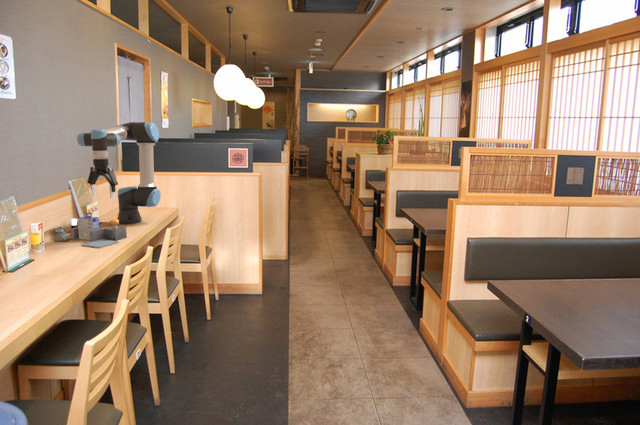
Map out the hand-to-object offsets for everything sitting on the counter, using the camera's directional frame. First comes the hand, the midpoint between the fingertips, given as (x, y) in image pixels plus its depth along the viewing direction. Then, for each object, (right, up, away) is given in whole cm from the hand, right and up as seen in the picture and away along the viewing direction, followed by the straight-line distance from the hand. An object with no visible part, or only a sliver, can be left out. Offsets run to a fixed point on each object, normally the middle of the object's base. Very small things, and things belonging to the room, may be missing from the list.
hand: (103, 197), depth 258 cm
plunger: (+4, -19, +5) cm, 20 cm away
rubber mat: (+1, -25, -7) cm, 26 cm away
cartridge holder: (-10, -23, +5) cm, 26 cm away
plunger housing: (+4, -23, +6) cm, 24 cm away
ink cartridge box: (-10, -23, +5) cm, 26 cm away
